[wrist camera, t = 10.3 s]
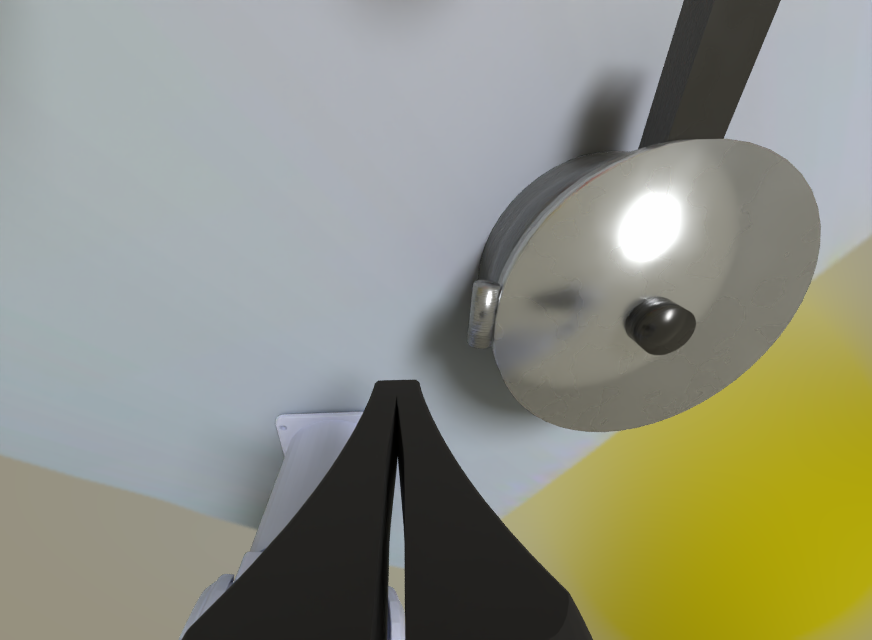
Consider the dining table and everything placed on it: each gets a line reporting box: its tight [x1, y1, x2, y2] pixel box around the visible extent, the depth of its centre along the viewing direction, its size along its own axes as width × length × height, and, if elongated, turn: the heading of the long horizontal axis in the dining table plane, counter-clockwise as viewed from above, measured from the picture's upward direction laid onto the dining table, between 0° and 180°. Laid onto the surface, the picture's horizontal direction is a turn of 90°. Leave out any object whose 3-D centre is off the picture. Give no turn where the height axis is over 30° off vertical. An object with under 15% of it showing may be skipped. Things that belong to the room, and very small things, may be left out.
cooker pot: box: [478, 0, 781, 283], centre depth 17 cm, size 20×14×5 cm
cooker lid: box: [467, 139, 821, 432], centre depth 15 cm, size 15×16×2 cm
